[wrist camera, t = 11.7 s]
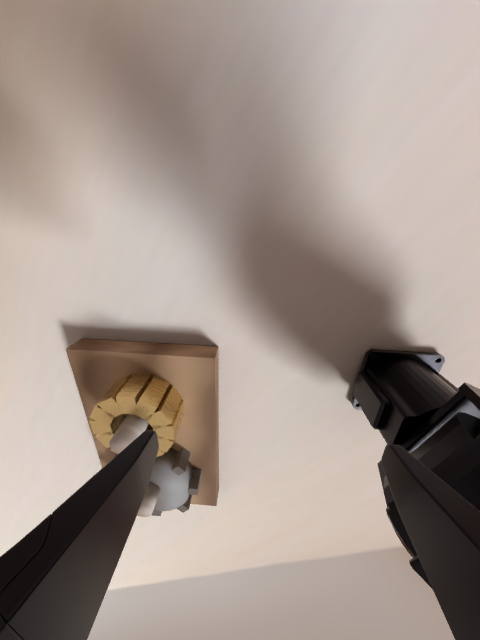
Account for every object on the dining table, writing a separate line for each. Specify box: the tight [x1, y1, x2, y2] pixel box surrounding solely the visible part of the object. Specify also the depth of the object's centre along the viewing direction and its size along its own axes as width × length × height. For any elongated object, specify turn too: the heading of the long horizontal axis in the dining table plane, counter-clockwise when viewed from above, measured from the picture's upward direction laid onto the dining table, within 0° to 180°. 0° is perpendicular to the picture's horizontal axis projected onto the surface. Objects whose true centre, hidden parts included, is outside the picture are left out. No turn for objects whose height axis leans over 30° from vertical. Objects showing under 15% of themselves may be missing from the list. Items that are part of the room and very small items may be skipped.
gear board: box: [66, 339, 219, 517], centre depth 22 cm, size 13×21×6 cm, turn 178°
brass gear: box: [89, 373, 185, 457], centre depth 20 cm, size 7×7×3 cm
